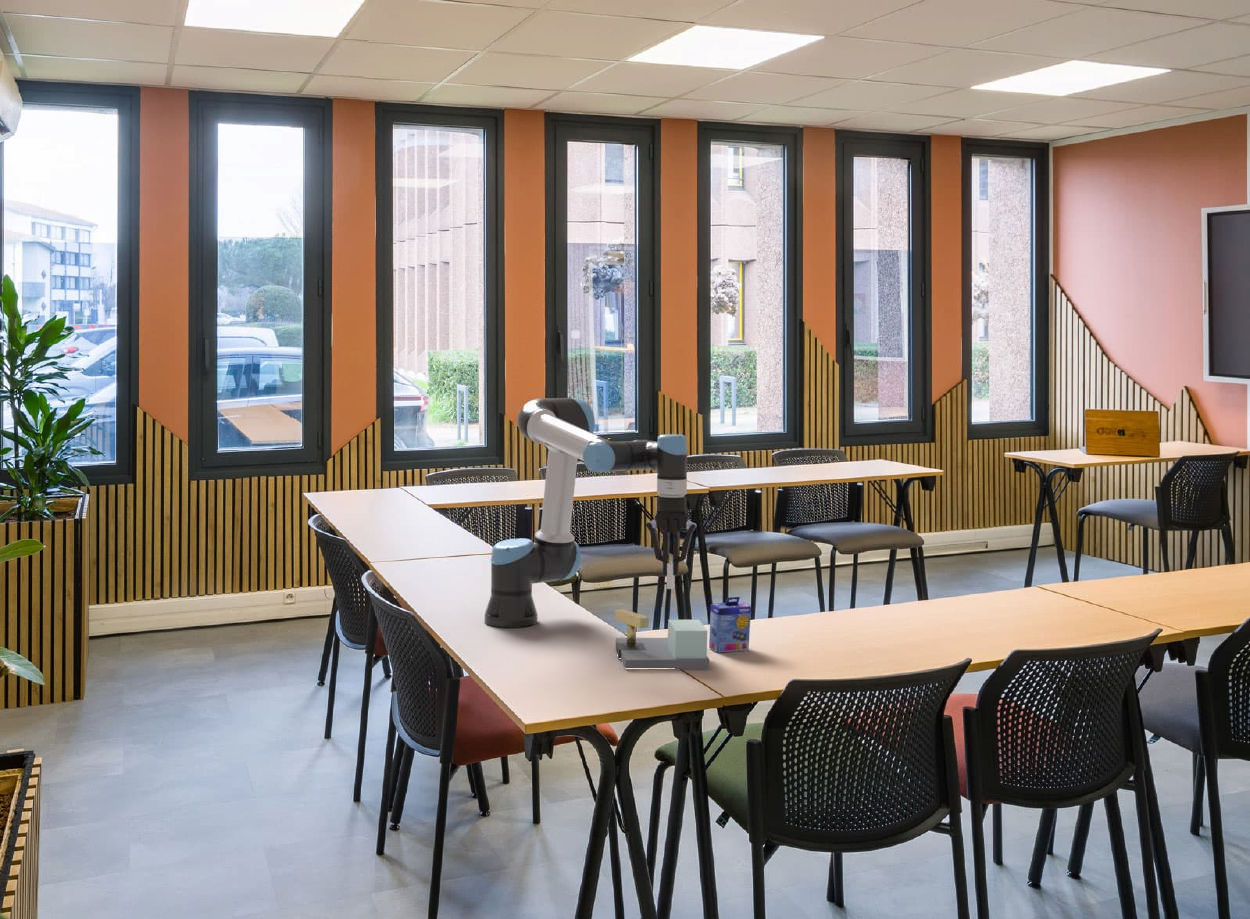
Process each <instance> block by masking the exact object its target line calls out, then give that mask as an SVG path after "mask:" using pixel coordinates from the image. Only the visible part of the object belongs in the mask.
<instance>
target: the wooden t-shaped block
mask: <svg viewBox="0 0 1250 919" xmlns="http://www.w3.org/2000/svg"><path fill="white" fill-rule="evenodd" d="M614 611H615V615H614V616H615V617H614V618H615V619H614V620H615V621H616V622H619V623H623V624H626V638H627V643H626V645H628V646H635V645H636V638H637V629H640V630H641V629H647V628H649V623H650V622H649V621H650V620H649V618H650V617H649V616H646V615H644V614H640V613H636V612H634V611H631V610H628V609H624V608H621V609H616V610H614Z"/></svg>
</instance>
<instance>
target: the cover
mask: <svg viewBox="0 0 1250 919" xmlns="http://www.w3.org/2000/svg"><path fill="white" fill-rule="evenodd" d="M667 621H668V622H667V638H668V648H669V650H670V651H671V653H672V655H673V656H674V658H675V659H693V658H707V657H708V656H707V654H708V633H709V632H708V629H707V628H706V627H705V625H704V624H703V623H702V622H701V620H700V619H668V620H667Z"/></svg>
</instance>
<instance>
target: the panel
mask: <svg viewBox="0 0 1250 919" xmlns="http://www.w3.org/2000/svg"><path fill="white" fill-rule="evenodd" d="M626 643H627V637H615V653H616V652H617V654H618V657H617V658H621V660H622V661H621V660H620V661H621V663H622V662H623V664H622V666H623V665H624V666H623V668H624V667H625V668H675V669H678V671H679V670H680V671H681V670H685V671H686V670H710V659H709V657H708V656H707V658H693V659H675V658H674V656H673V655H672V653H671V651H670V650H669V648H668V637H636V645H635V646H628V645H626ZM617 654H616V655H617Z"/></svg>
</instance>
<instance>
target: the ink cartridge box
mask: <svg viewBox="0 0 1250 919" xmlns="http://www.w3.org/2000/svg"><path fill="white" fill-rule="evenodd" d="M740 599H741V598H740V596H732V597H727V599H726V601H725V602H718V603H710V614H709V615H710V616H709V619H710V620H709V638H708V639H709V640H708V641H709V642H708V643H709V644H708V647H709V648H708V649H710V650H712V651H714V652H715V653H717V654H721V653H731V652H732V653H733V652H743V651H744V652H747V651H749V649H750V632H751V631H750V630H751V614H752V612H751V611H752V606H751V605H749V604H747V603H745V602H743V601H740ZM734 600H735V601H734Z"/></svg>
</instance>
